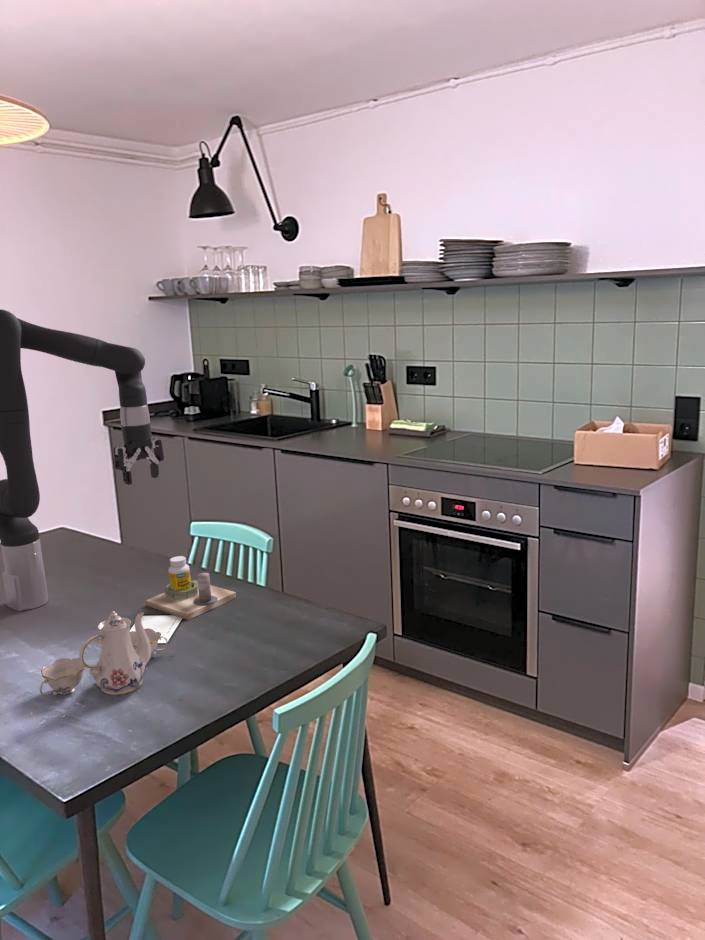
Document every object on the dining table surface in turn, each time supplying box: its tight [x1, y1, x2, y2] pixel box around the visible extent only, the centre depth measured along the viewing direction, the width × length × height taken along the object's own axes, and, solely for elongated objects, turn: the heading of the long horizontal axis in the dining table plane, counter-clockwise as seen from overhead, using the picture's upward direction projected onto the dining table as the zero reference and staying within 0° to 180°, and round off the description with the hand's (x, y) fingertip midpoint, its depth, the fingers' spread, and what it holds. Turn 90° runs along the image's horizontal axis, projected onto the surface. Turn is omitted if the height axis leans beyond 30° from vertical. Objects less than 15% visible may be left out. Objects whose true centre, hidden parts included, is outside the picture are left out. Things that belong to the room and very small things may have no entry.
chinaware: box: [39, 610, 169, 697], centre depth 157 cm, size 28×17×17 cm, turn 141°
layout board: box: [146, 572, 237, 621], centre depth 195 cm, size 16×16×8 cm
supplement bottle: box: [167, 555, 192, 591], centre depth 197 cm, size 5×5×10 cm
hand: (141, 480), depth 208 cm, fingers open, 8 cm apart
